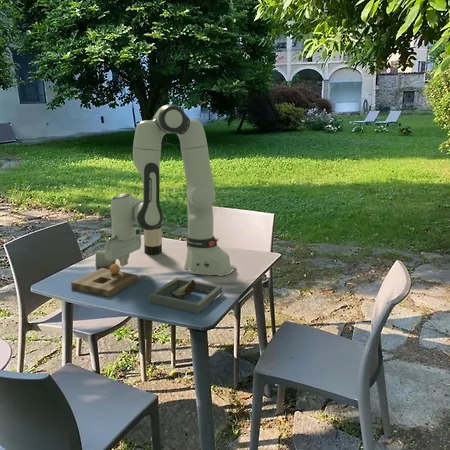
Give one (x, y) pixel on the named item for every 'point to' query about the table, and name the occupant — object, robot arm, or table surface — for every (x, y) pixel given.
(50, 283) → the table surface
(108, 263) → the ceramic mug
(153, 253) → the wine bottle
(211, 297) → the slate dish rim
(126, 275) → the board
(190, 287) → the rock sample
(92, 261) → the table surface
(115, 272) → the rubber ball
